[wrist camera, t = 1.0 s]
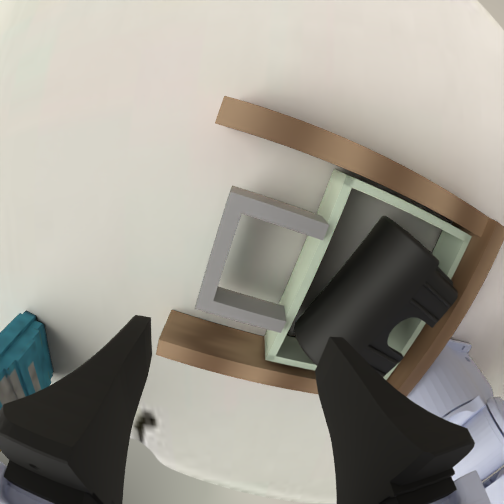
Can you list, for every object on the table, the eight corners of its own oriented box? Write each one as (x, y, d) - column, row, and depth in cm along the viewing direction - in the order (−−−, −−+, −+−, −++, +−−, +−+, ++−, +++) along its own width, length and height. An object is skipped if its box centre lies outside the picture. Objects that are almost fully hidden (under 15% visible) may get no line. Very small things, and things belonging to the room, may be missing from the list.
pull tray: (451, 224, 20) (475, 238, 17) (375, 360, 26) (386, 385, 22) (248, 138, 19) (247, 138, 15) (193, 315, 24) (185, 342, 20)
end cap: (368, 203, 21) (410, 232, 14) (425, 253, 22) (470, 293, 16) (288, 304, 24) (297, 362, 17) (350, 340, 25) (371, 395, 19)
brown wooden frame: (471, 210, 20) (507, 229, 16) (379, 374, 27) (394, 410, 22) (230, 103, 18) (222, 93, 13) (168, 324, 24) (152, 363, 20)
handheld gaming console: (20, 305, 25) (-61, 394, 11) (48, 318, 25) (-33, 419, 11) (34, 367, 28) (-22, 451, 14) (59, 379, 29) (7, 471, 15)
